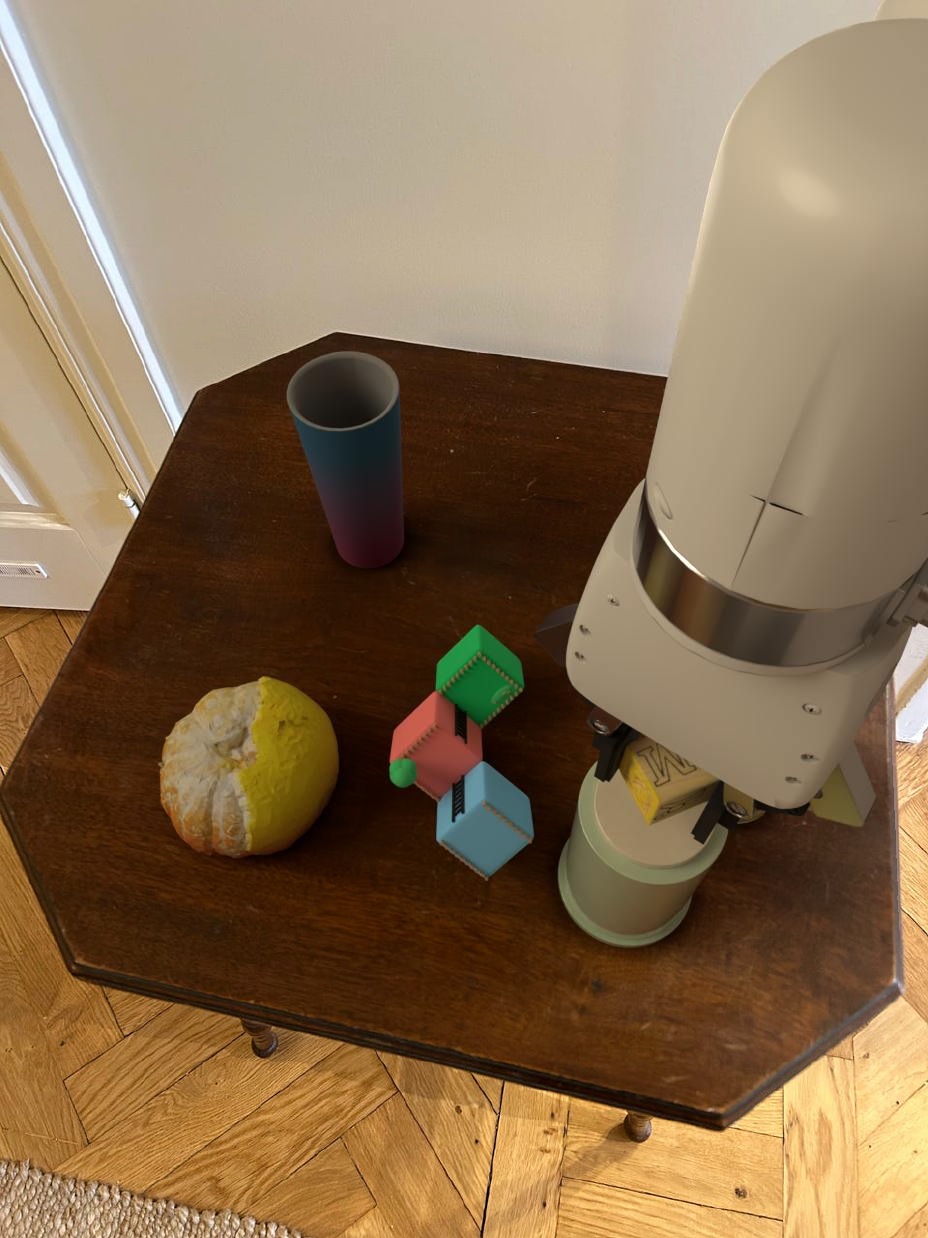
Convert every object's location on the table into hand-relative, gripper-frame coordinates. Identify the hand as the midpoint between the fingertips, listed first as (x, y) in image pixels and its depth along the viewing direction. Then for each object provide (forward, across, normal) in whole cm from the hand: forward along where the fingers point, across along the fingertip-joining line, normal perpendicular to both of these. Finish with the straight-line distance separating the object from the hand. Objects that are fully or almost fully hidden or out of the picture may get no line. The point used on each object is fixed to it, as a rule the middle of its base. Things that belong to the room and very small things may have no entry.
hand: (664, 783), depth 41 cm
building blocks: (+15, +11, -1) cm, 19 cm away
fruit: (+15, +22, +8) cm, 28 cm away
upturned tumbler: (+15, 0, 0) cm, 15 cm away
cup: (+15, +28, -11) cm, 34 cm away
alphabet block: (+1, 0, 0) cm, 1 cm away
